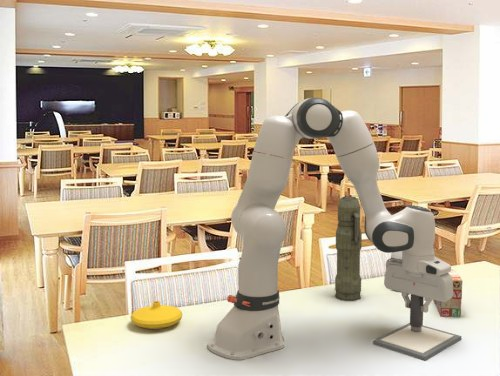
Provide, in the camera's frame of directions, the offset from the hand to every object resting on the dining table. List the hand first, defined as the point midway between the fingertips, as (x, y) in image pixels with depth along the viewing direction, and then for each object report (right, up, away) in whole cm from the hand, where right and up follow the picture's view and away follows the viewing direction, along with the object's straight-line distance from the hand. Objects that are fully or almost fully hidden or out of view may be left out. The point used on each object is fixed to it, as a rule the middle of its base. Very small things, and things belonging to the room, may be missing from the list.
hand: (416, 309), depth 171 cm
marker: (0, -6, +1) cm, 6 cm away
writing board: (-1, -8, -4) cm, 9 cm away
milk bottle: (+7, -2, +45) cm, 45 cm away
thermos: (-14, -3, +36) cm, 39 cm away
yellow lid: (-76, -7, +12) cm, 78 cm away
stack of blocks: (+17, -4, +26) cm, 31 cm away
